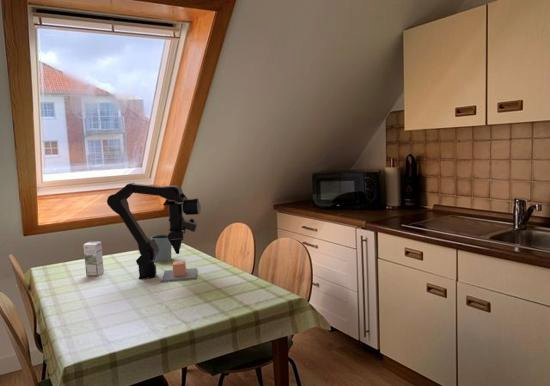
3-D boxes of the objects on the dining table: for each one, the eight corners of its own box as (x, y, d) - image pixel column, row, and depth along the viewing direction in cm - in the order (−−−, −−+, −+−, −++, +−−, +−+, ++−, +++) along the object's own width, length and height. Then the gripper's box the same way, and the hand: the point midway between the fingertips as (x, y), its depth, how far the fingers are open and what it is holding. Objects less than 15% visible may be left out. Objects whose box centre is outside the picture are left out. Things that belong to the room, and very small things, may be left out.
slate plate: (161, 282, 184) (161, 280, 184) (164, 272, 198) (164, 270, 198) (196, 279, 186) (195, 277, 186) (196, 269, 200) (196, 268, 200)
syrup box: (104, 272, 202) (101, 241, 201) (98, 276, 197) (95, 244, 195) (92, 272, 203) (89, 241, 201) (85, 276, 197) (82, 244, 195)
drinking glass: (150, 259, 222) (148, 235, 220) (171, 256, 226) (169, 233, 225) (154, 264, 213) (152, 239, 211) (175, 261, 217) (173, 236, 215)
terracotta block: (173, 276, 189) (172, 264, 189) (174, 272, 194) (173, 261, 194) (185, 275, 190) (184, 263, 189) (186, 271, 195) (185, 260, 194)
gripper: (194, 217, 181) (197, 255, 183) (195, 210, 199) (198, 244, 201) (166, 219, 180) (169, 257, 181) (170, 212, 198) (172, 246, 200)
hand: (178, 251), depth 191 cm, fingers open, 9 cm apart
